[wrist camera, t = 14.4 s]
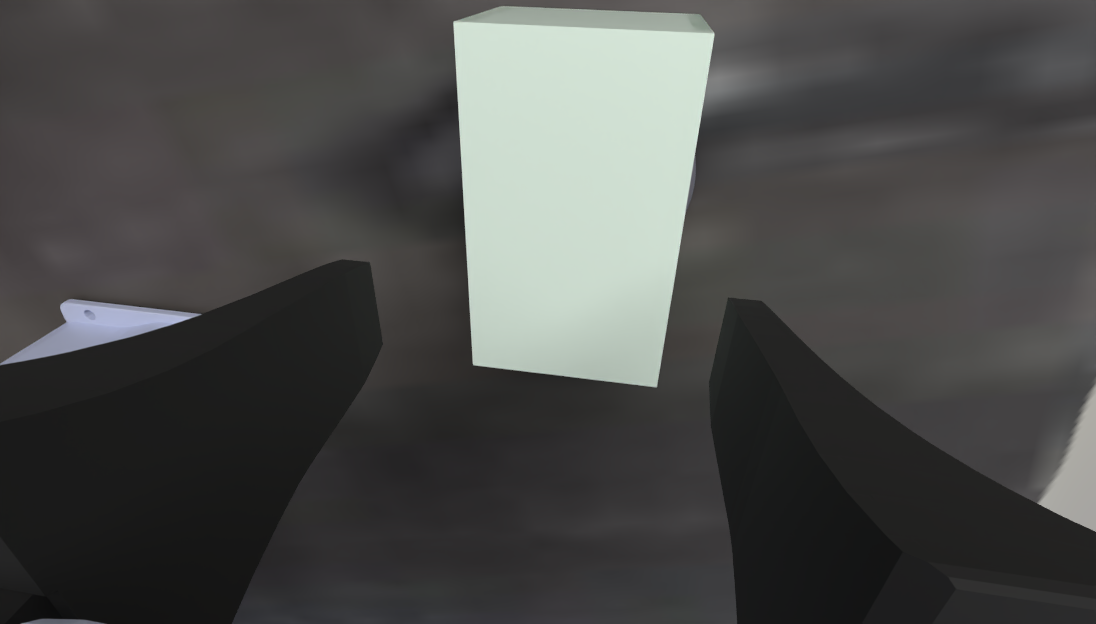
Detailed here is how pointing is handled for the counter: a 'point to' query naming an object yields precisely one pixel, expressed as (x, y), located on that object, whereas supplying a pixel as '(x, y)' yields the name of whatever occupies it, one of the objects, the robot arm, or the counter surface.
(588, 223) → the pale green block
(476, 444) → the counter surface
